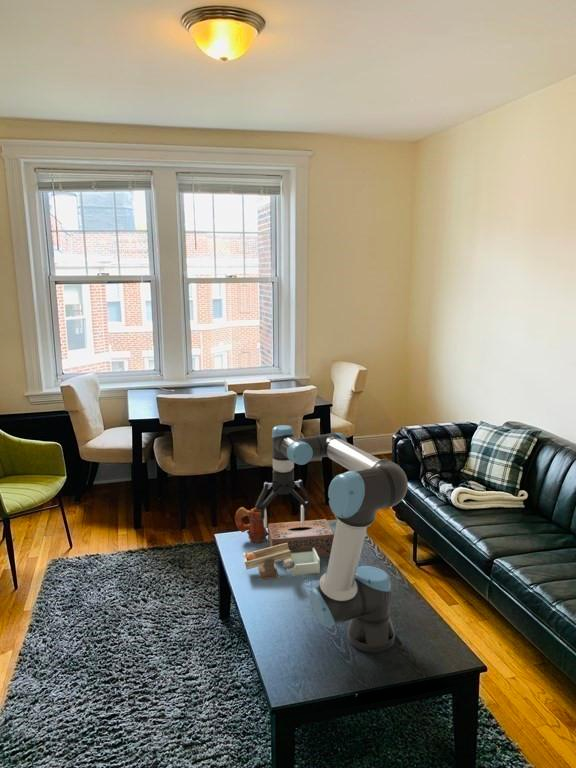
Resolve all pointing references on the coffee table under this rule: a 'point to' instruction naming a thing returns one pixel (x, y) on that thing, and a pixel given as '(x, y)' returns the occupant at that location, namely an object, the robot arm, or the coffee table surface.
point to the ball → (250, 556)
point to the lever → (271, 557)
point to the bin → (306, 563)
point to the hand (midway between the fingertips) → (284, 524)
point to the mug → (252, 524)
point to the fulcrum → (268, 570)
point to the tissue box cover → (302, 536)
